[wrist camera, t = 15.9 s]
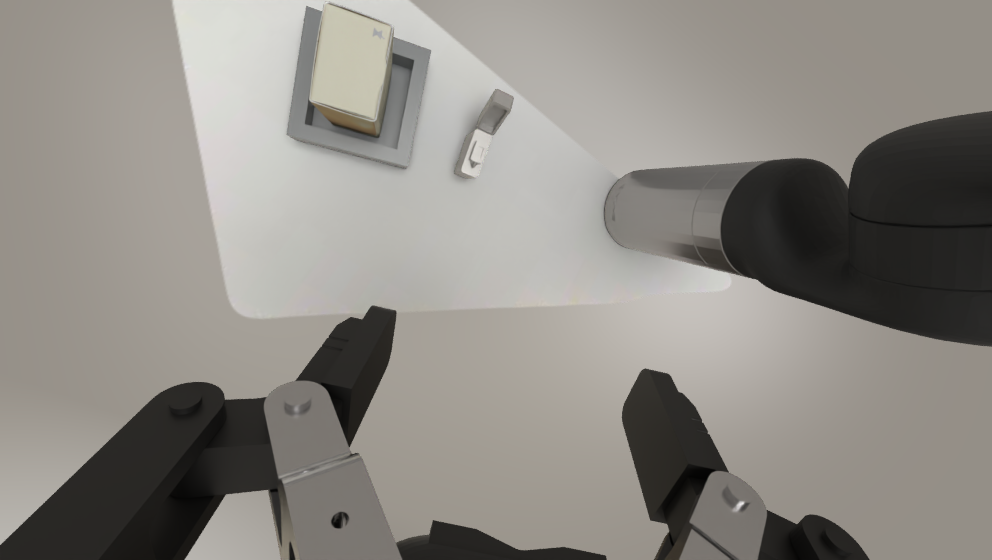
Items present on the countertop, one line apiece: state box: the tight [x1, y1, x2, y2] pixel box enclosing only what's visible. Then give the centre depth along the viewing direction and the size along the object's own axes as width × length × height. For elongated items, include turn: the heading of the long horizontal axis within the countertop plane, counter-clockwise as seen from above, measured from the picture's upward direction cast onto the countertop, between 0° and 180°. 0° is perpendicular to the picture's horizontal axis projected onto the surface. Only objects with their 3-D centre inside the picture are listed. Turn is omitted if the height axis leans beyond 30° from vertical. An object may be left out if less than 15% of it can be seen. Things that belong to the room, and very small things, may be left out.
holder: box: [287, 6, 431, 169], centre depth 36 cm, size 10×10×4 cm
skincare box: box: [309, 1, 394, 138], centre depth 31 cm, size 6×4×12 cm
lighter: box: [454, 89, 514, 179], centre depth 38 cm, size 7×2×8 cm, turn 159°
